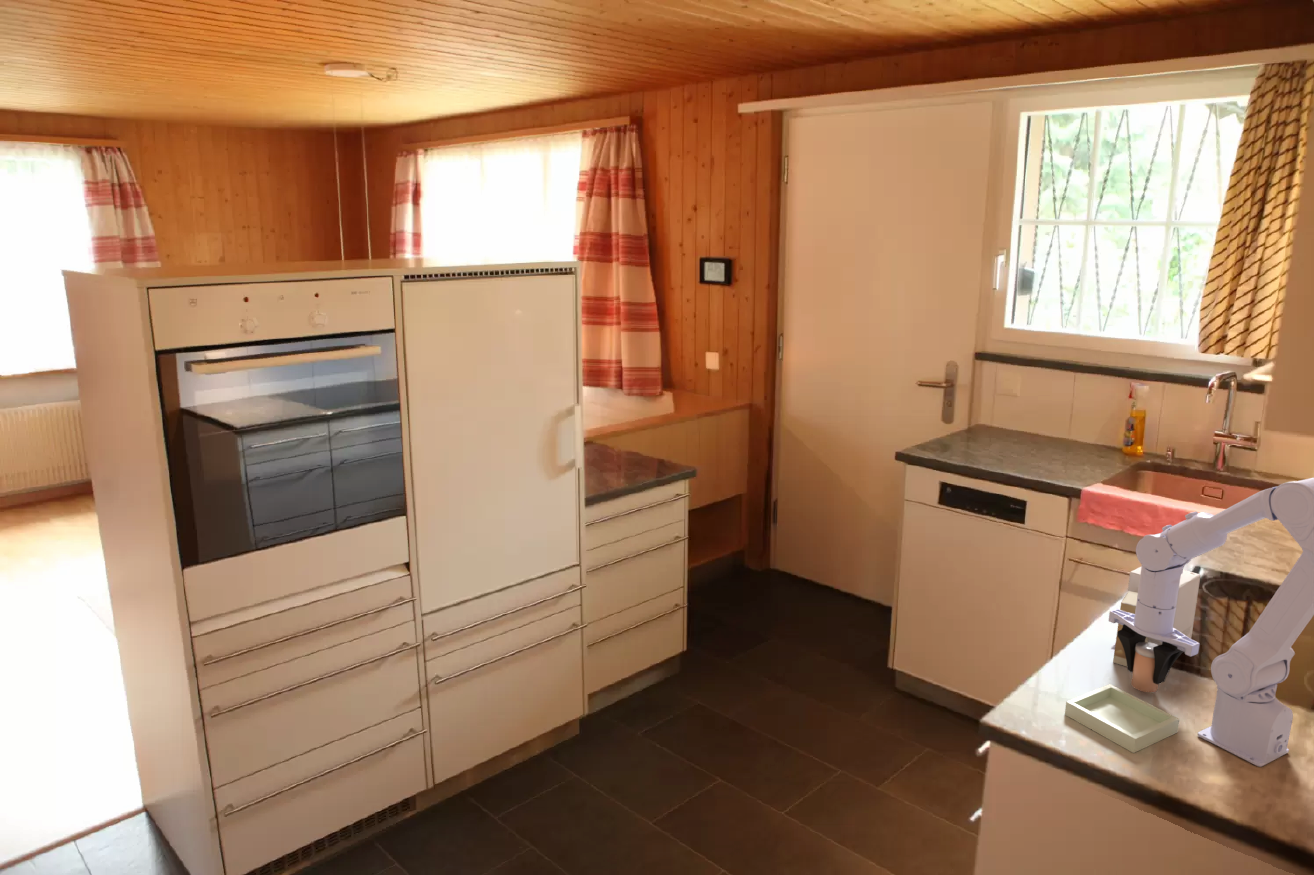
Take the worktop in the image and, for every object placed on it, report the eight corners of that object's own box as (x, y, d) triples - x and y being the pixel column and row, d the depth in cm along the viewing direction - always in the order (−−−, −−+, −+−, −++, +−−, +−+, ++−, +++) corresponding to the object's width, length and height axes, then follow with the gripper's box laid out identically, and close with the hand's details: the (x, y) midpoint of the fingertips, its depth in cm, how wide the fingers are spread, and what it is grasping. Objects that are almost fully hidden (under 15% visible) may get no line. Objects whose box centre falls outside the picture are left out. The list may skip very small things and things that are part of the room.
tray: (1177, 732, 140) (1179, 718, 139) (1133, 752, 135) (1135, 739, 134) (1107, 696, 150) (1109, 683, 150) (1064, 714, 145) (1066, 701, 144)
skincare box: (1120, 649, 166) (1128, 589, 163) (1146, 657, 163) (1155, 595, 160) (1111, 663, 161) (1120, 601, 158) (1138, 671, 158) (1147, 608, 155)
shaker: (1163, 688, 150) (1169, 649, 148) (1148, 695, 148) (1154, 656, 147) (1140, 677, 154) (1145, 639, 152) (1125, 683, 152) (1130, 645, 150)
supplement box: (1142, 630, 173) (1152, 558, 169) (1190, 648, 166) (1202, 574, 162) (1118, 644, 168) (1128, 570, 164) (1167, 663, 161) (1179, 586, 157)
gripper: (1215, 613, 143) (1202, 689, 146) (1130, 581, 155) (1121, 652, 159) (1188, 623, 140) (1176, 700, 143) (1104, 590, 152) (1095, 661, 155)
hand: (1145, 675), depth 151 cm, fingers closed on shaker, 4 cm apart
